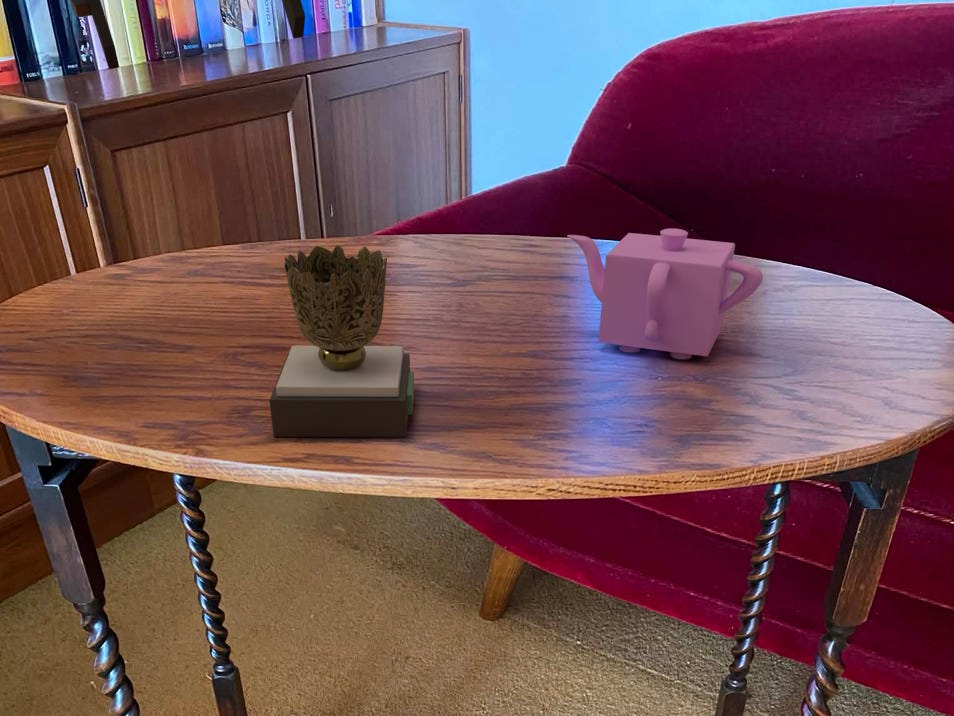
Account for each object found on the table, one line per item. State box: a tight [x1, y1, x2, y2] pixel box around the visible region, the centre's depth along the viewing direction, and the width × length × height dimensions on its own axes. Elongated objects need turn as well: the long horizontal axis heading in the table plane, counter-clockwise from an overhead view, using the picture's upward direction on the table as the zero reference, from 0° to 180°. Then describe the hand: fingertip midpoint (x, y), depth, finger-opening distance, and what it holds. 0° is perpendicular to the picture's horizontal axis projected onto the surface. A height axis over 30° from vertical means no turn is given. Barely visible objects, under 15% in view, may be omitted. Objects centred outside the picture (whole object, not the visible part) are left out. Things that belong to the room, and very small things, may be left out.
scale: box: [268, 345, 415, 438], centre depth 76 cm, size 10×10×4 cm
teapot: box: [566, 228, 764, 360], centre depth 88 cm, size 18×14×10 cm
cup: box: [283, 245, 388, 370], centre depth 72 cm, size 8×7×8 cm
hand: (207, 43), depth 69 cm, fingers open, 13 cm apart
